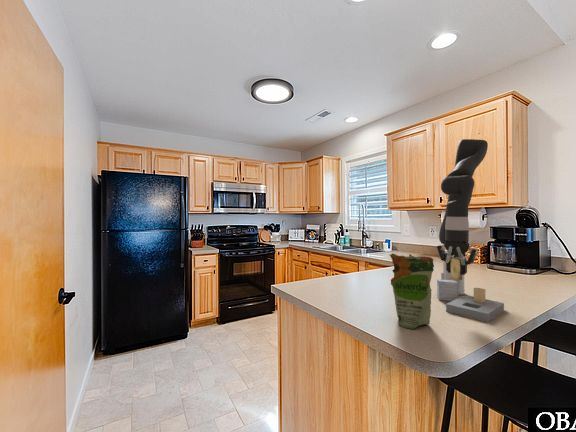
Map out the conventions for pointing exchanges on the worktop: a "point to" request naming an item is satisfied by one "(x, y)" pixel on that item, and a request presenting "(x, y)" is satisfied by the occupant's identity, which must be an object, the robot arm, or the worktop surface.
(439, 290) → the medicine box
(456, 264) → the brass bushing
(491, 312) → the jig plate
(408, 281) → the pouch
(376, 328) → the worktop surface
